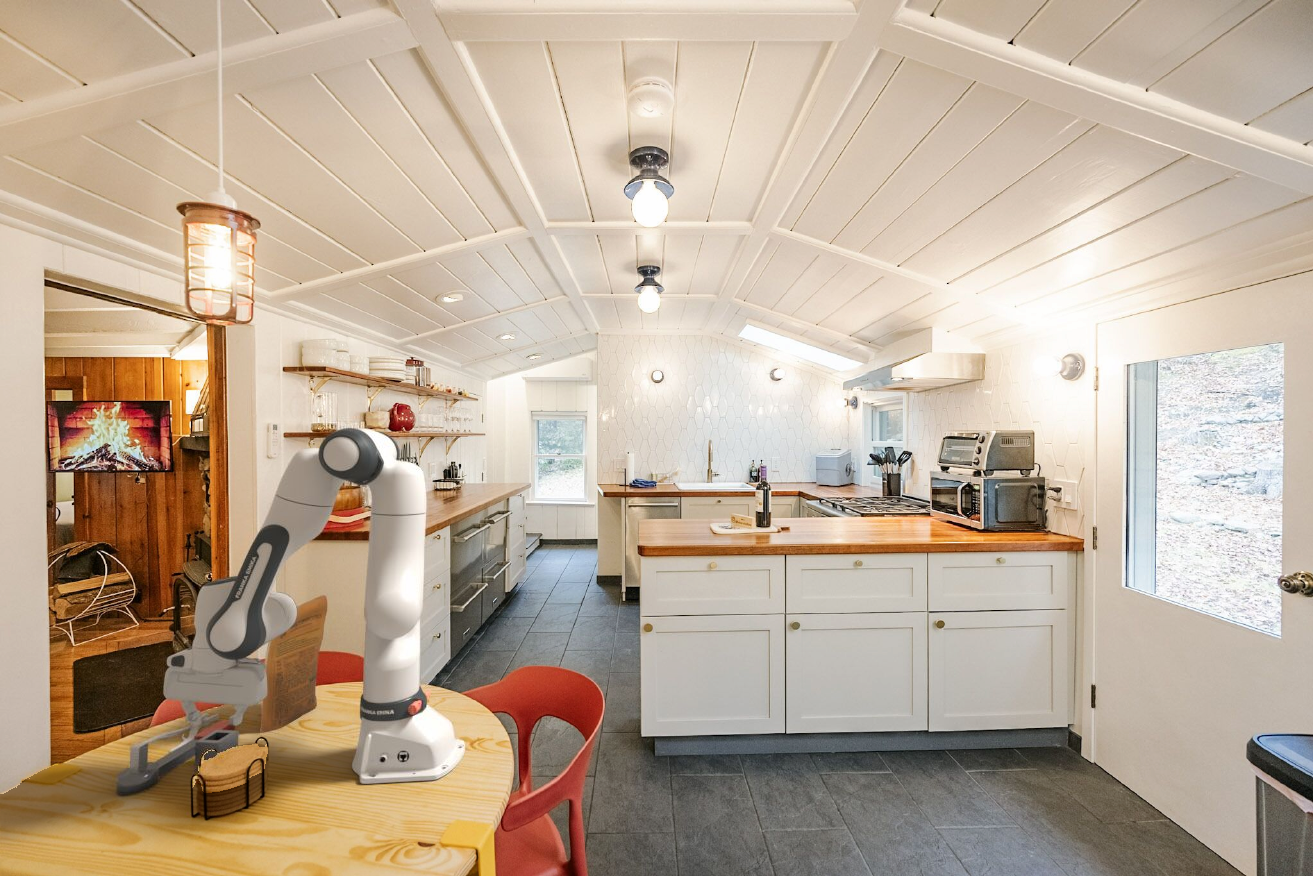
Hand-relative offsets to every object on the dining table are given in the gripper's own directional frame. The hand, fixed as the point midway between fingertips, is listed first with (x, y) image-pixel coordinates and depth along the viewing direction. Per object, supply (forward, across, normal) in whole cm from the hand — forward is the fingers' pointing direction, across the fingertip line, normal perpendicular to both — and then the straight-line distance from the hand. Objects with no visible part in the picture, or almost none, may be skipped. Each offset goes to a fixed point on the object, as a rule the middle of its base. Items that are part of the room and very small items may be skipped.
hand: (214, 722), depth 116 cm
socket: (+9, -1, 0) cm, 9 cm away
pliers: (+10, +17, -11) cm, 23 cm away
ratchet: (+9, +8, -1) cm, 12 cm away
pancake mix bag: (+9, -2, -21) cm, 23 cm away
